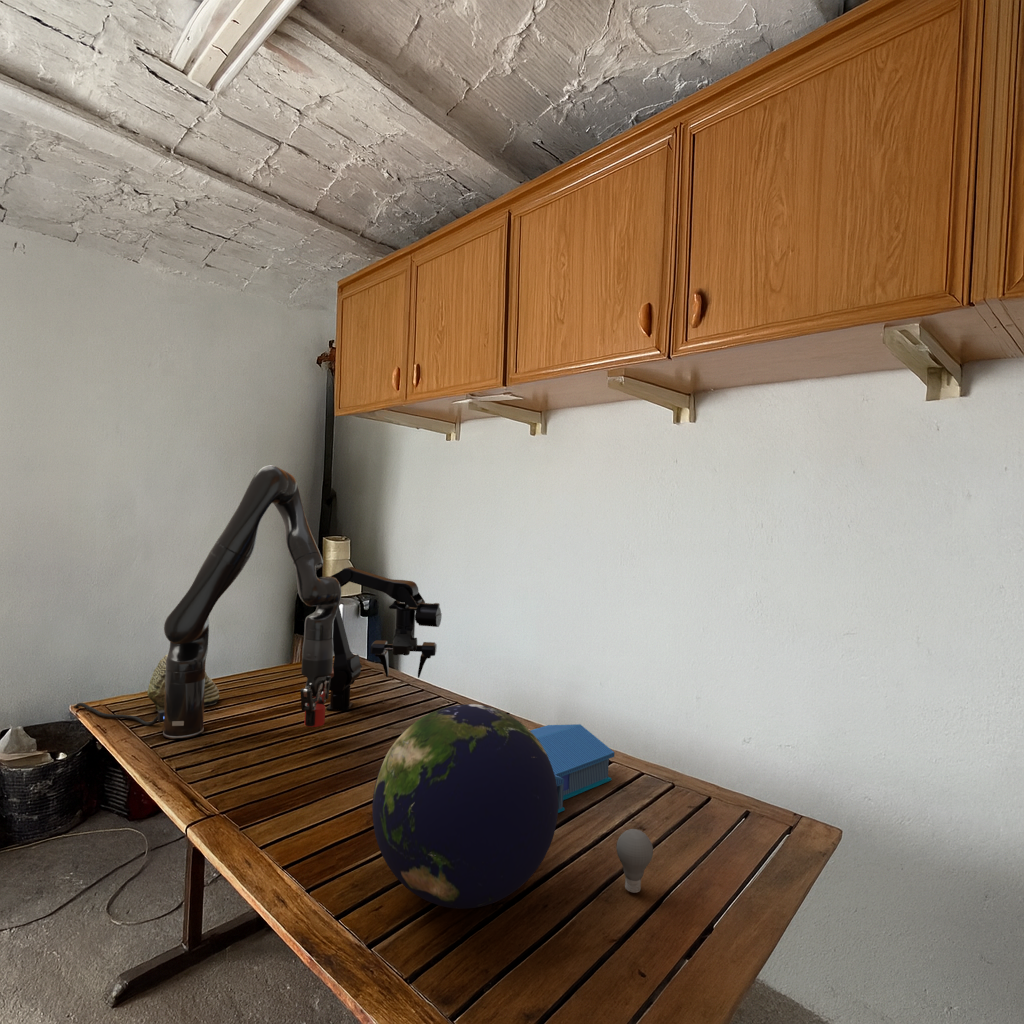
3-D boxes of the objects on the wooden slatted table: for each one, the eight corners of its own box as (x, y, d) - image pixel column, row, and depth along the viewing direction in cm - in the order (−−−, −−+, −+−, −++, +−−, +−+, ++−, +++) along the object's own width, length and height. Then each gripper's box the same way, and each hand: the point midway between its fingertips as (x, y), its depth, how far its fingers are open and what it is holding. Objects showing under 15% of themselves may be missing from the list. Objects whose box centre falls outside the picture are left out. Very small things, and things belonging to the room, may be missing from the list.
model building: (493, 841, 119) (496, 788, 119) (420, 792, 137) (422, 747, 137) (623, 784, 145) (625, 741, 145) (547, 750, 164) (548, 712, 163)
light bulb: (610, 879, 108) (613, 822, 108) (644, 879, 109) (647, 822, 109) (619, 902, 102) (622, 840, 102) (655, 901, 103) (658, 840, 103)
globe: (328, 919, 95) (336, 721, 95) (427, 827, 123) (434, 674, 122) (512, 985, 84) (522, 760, 83) (576, 867, 112) (584, 698, 111)
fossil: (144, 707, 182) (145, 655, 182) (212, 696, 194) (213, 647, 194) (151, 716, 175) (153, 662, 175) (221, 703, 188) (223, 653, 188)
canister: (300, 724, 160) (300, 707, 160) (314, 718, 165) (315, 702, 165) (314, 728, 158) (315, 711, 158) (328, 722, 162) (329, 706, 162)
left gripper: (320, 663, 154) (317, 733, 154) (342, 650, 168) (339, 713, 168) (291, 661, 154) (287, 730, 155) (314, 648, 168) (311, 711, 169)
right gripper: (368, 628, 178) (365, 684, 178) (434, 631, 179) (432, 686, 179) (375, 621, 189) (372, 673, 189) (437, 623, 190) (435, 675, 190)
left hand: (314, 721), depth 161 cm, fingers closed on canister, 5 cm apart
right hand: (402, 677), depth 187 cm, fingers open, 9 cm apart
